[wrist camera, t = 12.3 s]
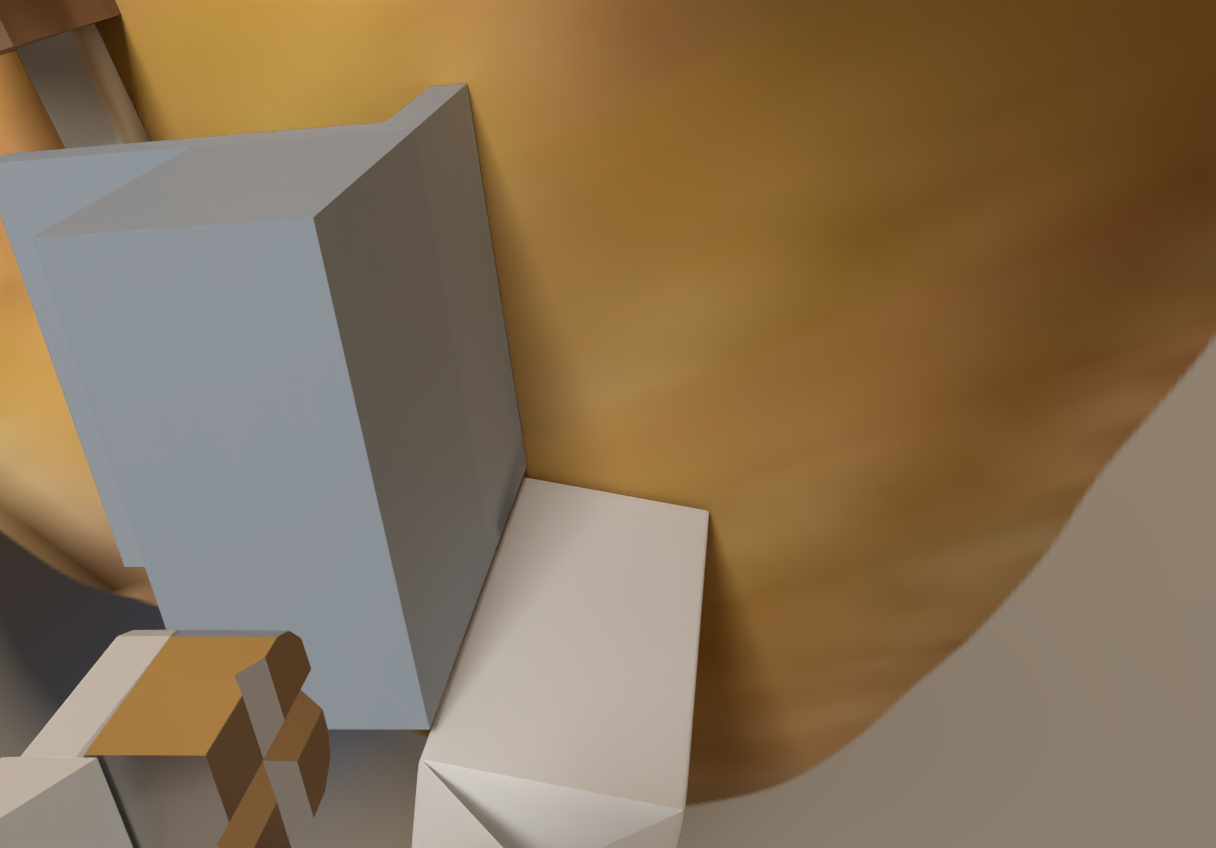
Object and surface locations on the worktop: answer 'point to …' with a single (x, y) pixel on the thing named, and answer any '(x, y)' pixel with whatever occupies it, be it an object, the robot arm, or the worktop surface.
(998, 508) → the worktop surface
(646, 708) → the milk carton
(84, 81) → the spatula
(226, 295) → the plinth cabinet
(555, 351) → the worktop surface
